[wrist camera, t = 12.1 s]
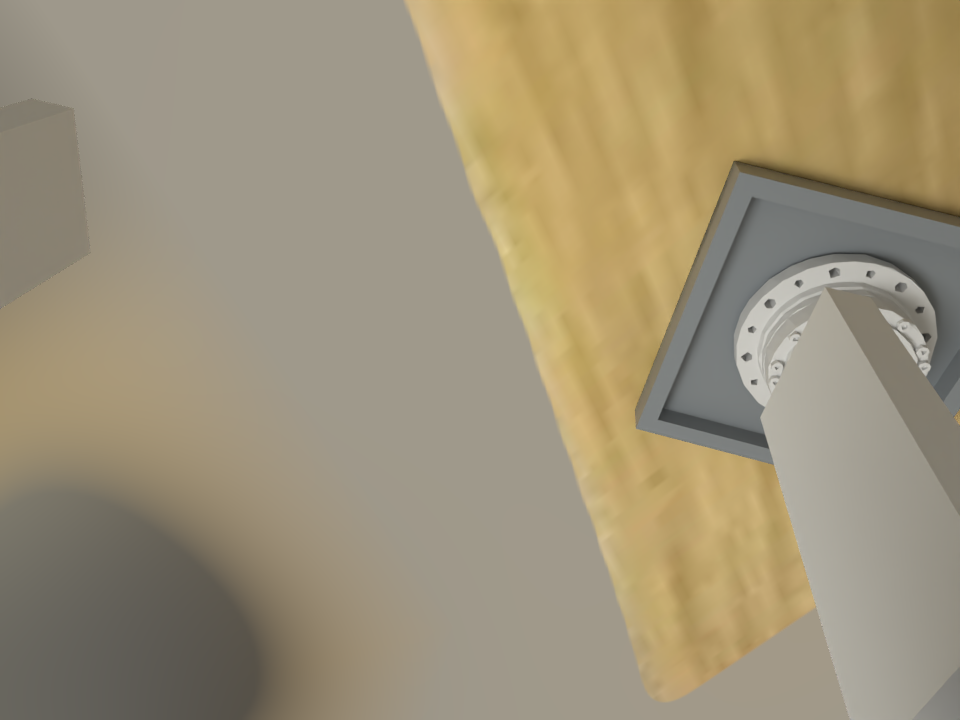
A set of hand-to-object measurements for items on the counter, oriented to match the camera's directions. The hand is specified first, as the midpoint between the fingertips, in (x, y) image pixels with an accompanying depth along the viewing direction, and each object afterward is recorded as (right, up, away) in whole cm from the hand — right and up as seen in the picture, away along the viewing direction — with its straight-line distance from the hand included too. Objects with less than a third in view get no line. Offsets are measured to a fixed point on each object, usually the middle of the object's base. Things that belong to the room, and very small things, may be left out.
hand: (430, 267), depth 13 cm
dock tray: (+20, 0, +28) cm, 34 cm away
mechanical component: (+20, 0, +27) cm, 34 cm away
